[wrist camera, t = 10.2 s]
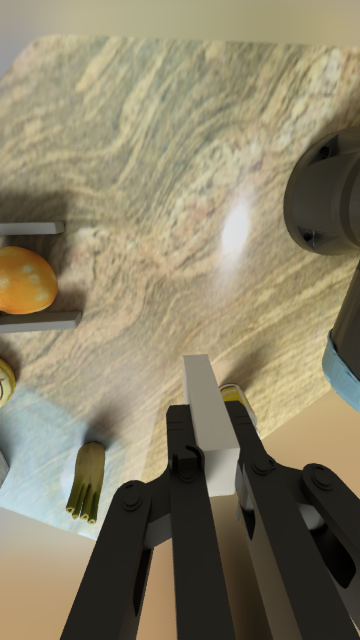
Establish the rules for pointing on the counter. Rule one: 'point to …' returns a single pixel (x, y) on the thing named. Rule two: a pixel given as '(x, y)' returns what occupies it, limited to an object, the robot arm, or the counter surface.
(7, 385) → the decorated donut
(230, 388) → the supplement bottle
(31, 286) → the fruit
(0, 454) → the medicine box
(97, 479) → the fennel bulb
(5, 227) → the flagpole corner frame
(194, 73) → the counter surface
